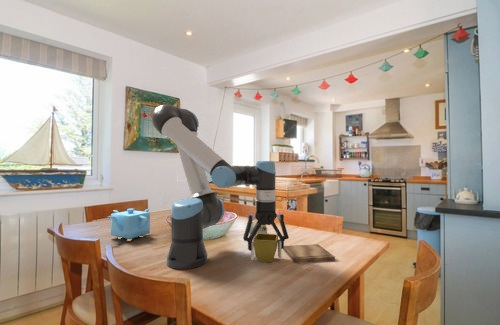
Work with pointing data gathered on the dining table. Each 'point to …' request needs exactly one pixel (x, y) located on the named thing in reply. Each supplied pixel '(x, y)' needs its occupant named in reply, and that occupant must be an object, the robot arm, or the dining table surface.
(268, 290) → the dining table surface
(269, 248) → the flower pot
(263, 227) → the grey rounded lump
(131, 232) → the teakettle
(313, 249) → the plate
